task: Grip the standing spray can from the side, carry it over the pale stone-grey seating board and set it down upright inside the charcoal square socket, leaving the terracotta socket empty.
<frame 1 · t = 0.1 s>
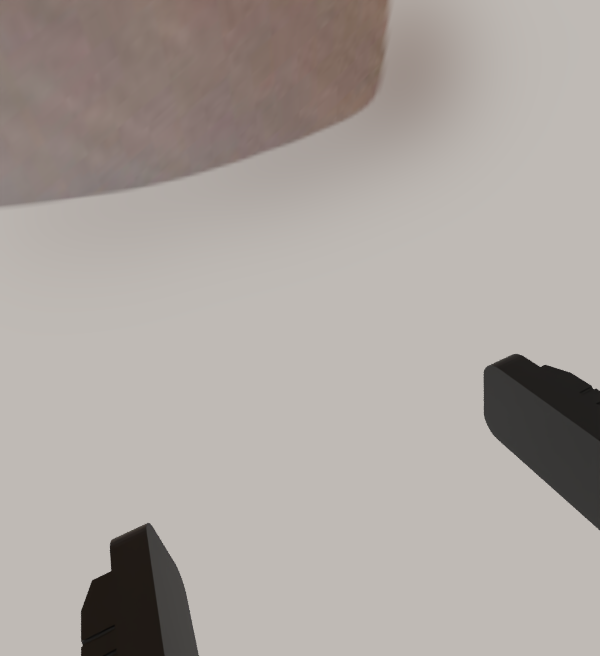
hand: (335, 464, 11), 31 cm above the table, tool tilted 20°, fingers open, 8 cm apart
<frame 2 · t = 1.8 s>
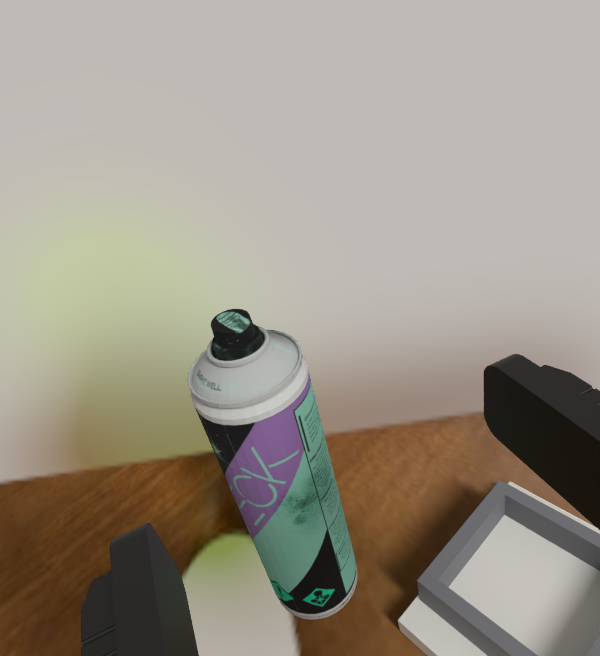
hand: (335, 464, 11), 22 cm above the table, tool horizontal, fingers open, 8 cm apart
spray can: (316, 577, 32), on the table
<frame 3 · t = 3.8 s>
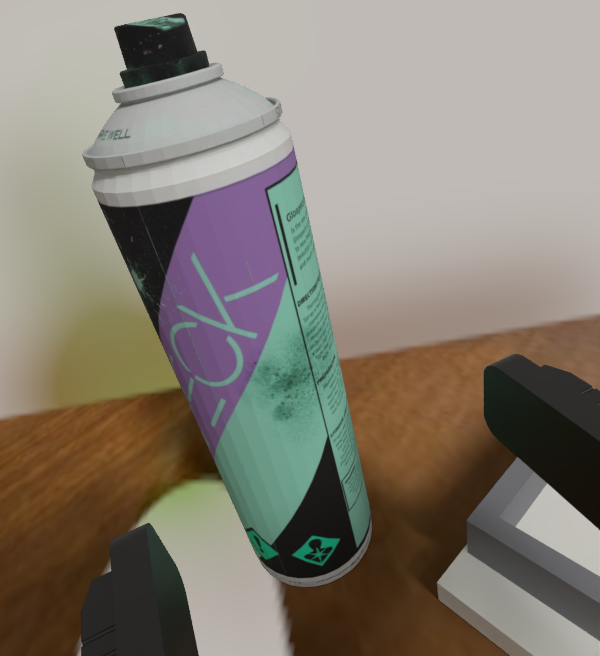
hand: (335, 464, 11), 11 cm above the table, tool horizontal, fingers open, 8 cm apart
spray can: (313, 530, 22), on the table
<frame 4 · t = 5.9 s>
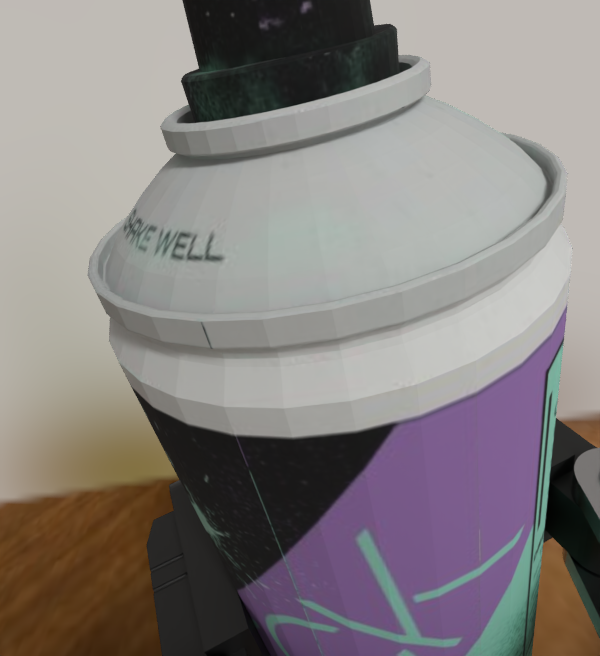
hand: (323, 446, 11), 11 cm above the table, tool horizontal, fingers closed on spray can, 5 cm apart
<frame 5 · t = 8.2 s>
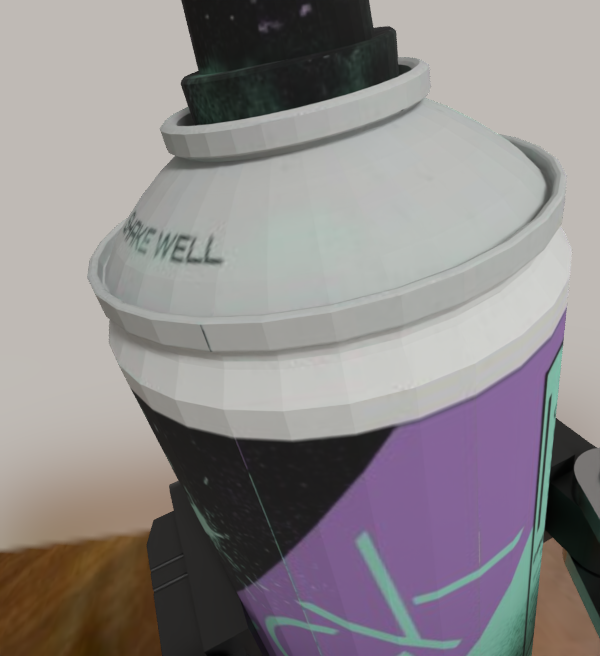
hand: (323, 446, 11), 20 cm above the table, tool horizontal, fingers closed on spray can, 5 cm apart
when the fingers open (13 cm above the table, at t = 10.3 s): spray can drops 1 cm, resting on seating board.
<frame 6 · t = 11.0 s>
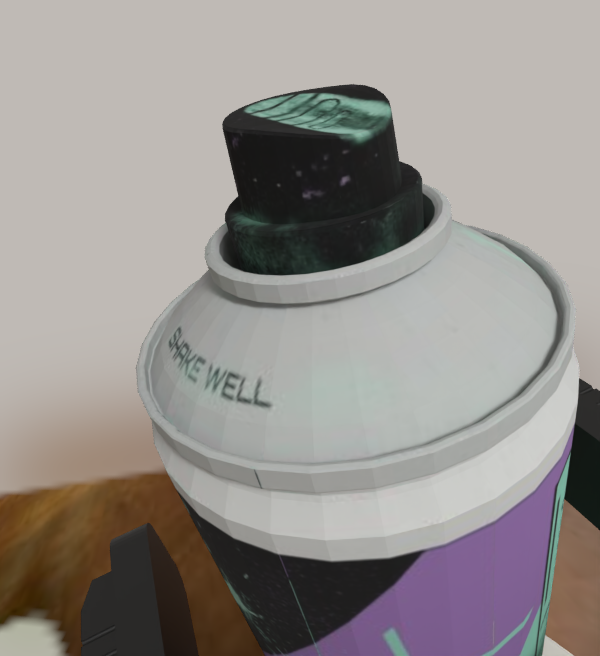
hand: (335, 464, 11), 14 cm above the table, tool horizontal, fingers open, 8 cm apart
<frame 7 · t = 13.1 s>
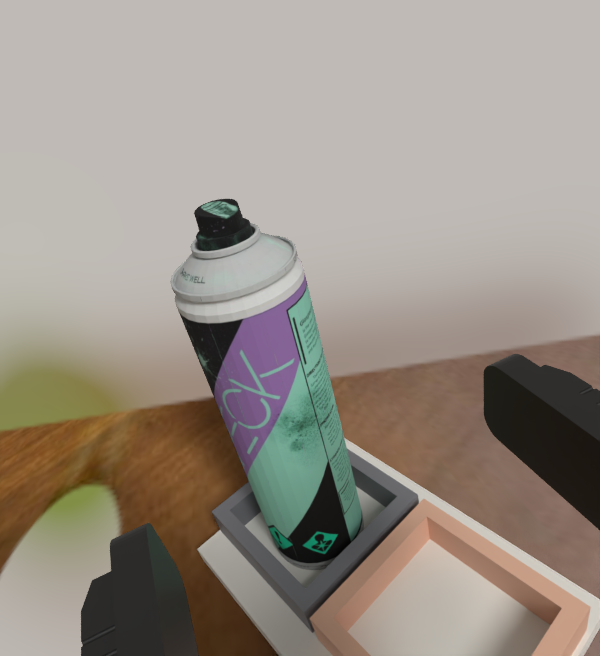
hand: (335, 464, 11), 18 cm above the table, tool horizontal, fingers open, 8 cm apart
spray can: (319, 528, 29), point 1 cm above the table, touching seating board
seating board: (376, 585, 27), on the table
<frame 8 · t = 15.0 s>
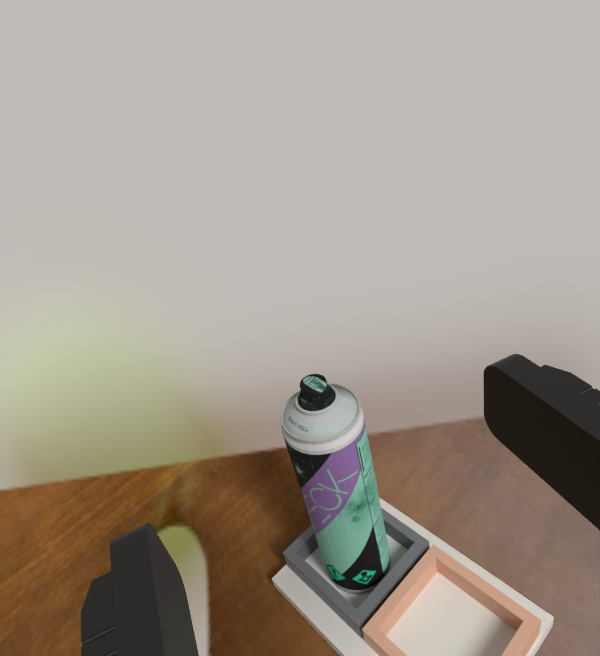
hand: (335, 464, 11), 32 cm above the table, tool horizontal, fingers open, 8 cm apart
spray can: (358, 563, 41), point 1 cm above the table, touching seating board
seating board: (401, 604, 39), on the table
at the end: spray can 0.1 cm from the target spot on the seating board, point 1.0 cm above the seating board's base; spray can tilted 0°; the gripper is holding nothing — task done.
